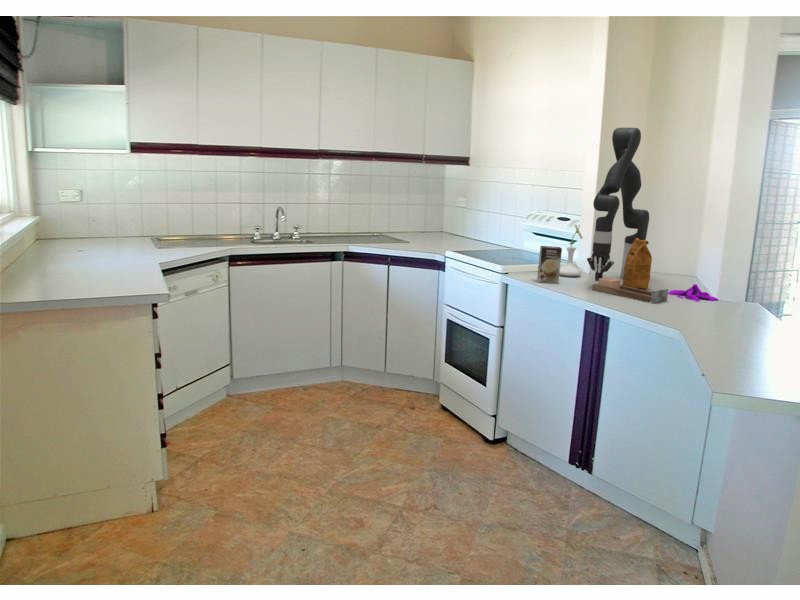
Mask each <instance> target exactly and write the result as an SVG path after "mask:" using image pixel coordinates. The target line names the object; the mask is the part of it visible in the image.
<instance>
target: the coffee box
mask: <svg viewBox="0 0 800 600" xmlns="http://www.w3.org/2000/svg"><path fill="white" fill-rule="evenodd" d="M562 251H563V248H562V247H560V246H553V245H552V246H547V245H540V248H539V256H538V265H537V267H538V269H537V277H536V280H537V282H538V283H547V284H559V281H560V274H559V272H560V267H561V262H562V260H561V259H562Z"/></svg>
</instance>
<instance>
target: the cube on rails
mask: <svg viewBox="0 0 800 600" xmlns="http://www.w3.org/2000/svg"><path fill="white" fill-rule="evenodd" d="M591 288H592V289H591V290H592V291H595V292H600V293H605V294H608V295H614V296H617V295H618V297H622V296H623V297H622V298H626V297H628V298H627V299H631V298H633V300H635V299H637V300H636V301H640V300H642V301H641V302H644V301H647V302H646V303H649V302H652V303H651V304H653V303H654V304H659V303H664V302H667V301H668V293H669V288H659V289H654V290H651V291H649V290H645V289H636V288H631V287H626V286H623V285H622V284H621V285H620V289H616V288H611V287H607V286H602V285H598V284H596V283H594V284H592V287H591ZM658 302H659V303H658Z"/></svg>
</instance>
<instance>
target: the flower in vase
mask: <svg viewBox="0 0 800 600" xmlns="http://www.w3.org/2000/svg"><path fill="white" fill-rule="evenodd" d="M574 227H575V233H574V234H573V235H572V238H571V241H570V242H569V245H570V246H566V247H565V248H566V250H567V261H566V263H565V264H563V265H562V266H560V272H559V276H560V275H561V276H565V277H577V276H580V275H581V274H582V271H581V270H580V269H579V268H578V267H577V266H576V265H575V263H574V261H573V259H574V253H575V250H577V247H575V246H573V245H575V241H574V237H575V235H576V234H578V236H579V238H580V239H583V236H582V233H581V232H580V229H579V227H578V225H577V223H574Z"/></svg>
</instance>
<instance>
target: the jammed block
mask: <svg viewBox="0 0 800 600" xmlns="http://www.w3.org/2000/svg"><path fill="white" fill-rule="evenodd" d="M597 283H598V284H597V285H602V286H607V287H611V288H616V289H620V285H621V286H622V284H621V283H622V279H618V278H612V277H609V276H605V277H602V278H599V281H597Z"/></svg>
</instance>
